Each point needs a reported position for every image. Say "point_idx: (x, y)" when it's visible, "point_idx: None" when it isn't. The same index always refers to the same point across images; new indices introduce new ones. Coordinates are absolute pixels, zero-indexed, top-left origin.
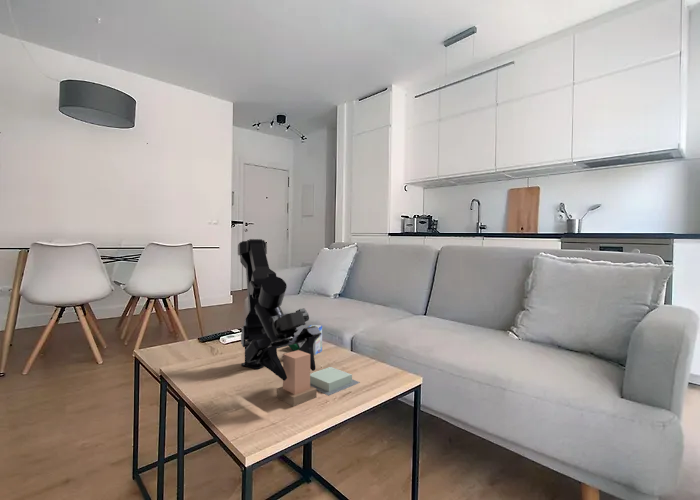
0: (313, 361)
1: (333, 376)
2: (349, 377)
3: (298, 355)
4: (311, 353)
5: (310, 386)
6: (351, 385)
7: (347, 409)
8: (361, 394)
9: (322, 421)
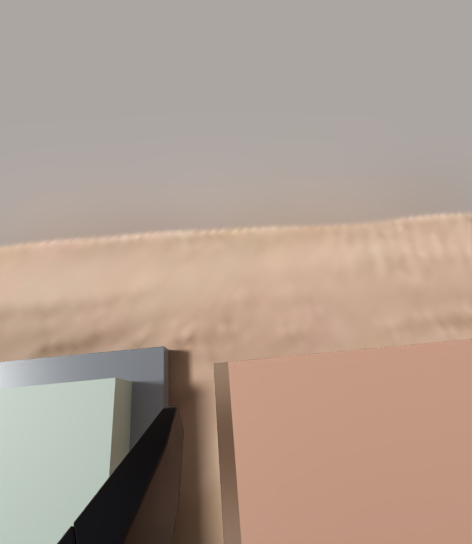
0: (143, 452)
1: (14, 453)
2: None
3: (399, 422)
4: (94, 541)
5: (221, 414)
6: (3, 365)
7: (173, 242)
8: (35, 301)
9: (294, 231)
